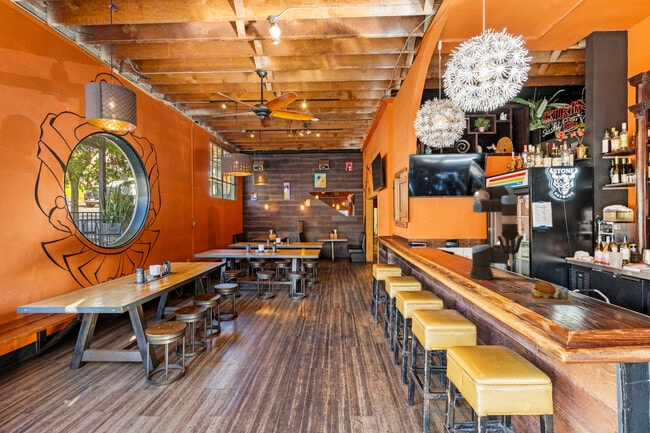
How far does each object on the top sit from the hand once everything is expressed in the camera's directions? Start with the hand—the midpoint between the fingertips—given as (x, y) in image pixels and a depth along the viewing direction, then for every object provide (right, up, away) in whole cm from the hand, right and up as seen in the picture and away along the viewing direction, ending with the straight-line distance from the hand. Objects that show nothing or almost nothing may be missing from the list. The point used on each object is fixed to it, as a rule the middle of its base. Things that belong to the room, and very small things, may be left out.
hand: (510, 265), depth 168 cm
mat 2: (0, -17, -16) cm, 24 cm away
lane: (+10, -17, -4) cm, 20 cm away
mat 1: (+15, -17, +9) cm, 24 cm away
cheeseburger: (+15, -17, -5) cm, 23 cm away
